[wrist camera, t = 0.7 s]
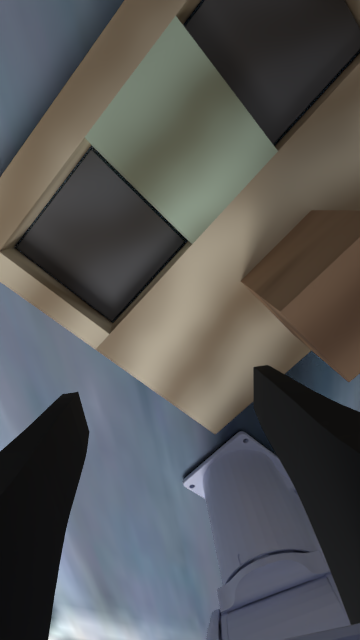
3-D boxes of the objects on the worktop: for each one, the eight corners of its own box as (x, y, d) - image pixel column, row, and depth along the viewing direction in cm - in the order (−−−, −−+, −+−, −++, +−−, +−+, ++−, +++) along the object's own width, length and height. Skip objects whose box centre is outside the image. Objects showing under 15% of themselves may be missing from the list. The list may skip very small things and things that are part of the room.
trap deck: (471, 183, 20) (504, 181, 18) (210, 417, 25) (215, 434, 23) (282, -191, 13) (305, -258, 11) (-29, 243, 18) (-49, 246, 16)
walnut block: (361, 275, 19) (447, 301, 14) (294, 335, 21) (348, 382, 15) (311, 210, 17) (387, 210, 12) (240, 281, 19) (280, 311, 13)
